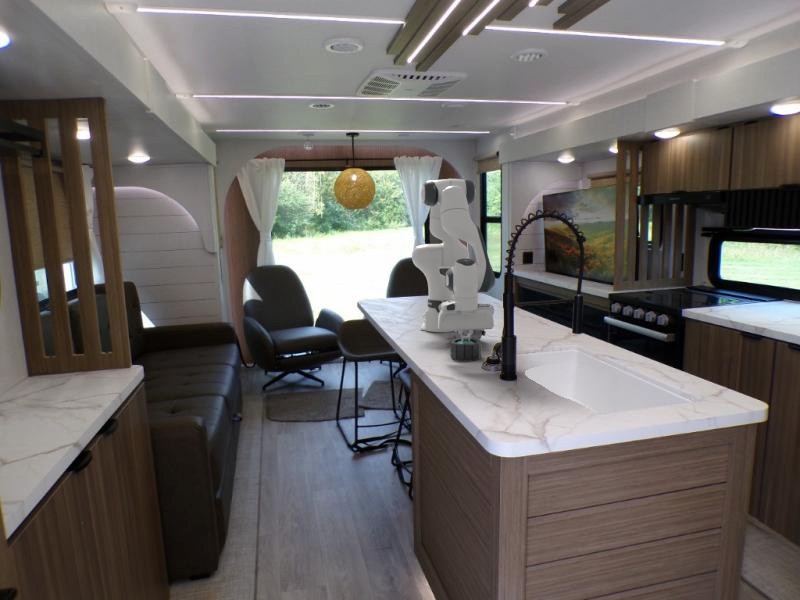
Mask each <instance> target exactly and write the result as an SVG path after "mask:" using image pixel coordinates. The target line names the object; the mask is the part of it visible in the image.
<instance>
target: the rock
mask: <svg viewBox="0 0 800 600" xmlns="http://www.w3.org/2000/svg"><path fill="white" fill-rule="evenodd" d="M452 333H453V337H452V338H453V339H457V338H461V335H460V334H459V332H458V330H453V331H452ZM486 333H487V331H485V329H479V330H473V333H472V335H471V337H470V338H474V339H478V340H480V341H481V339H482V336H483V337H485V336H486ZM468 334H469V331H468V330H463V333H462V335H463V336H468Z"/></svg>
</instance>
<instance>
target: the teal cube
mask: <svg viewBox="0 0 800 600" xmlns="http://www.w3.org/2000/svg"><path fill="white" fill-rule="evenodd" d="M457 343H460V344H472V343H474V342H472V341H470V342H462V341H459V342H457Z"/></svg>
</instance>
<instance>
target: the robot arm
mask: <svg viewBox="0 0 800 600" xmlns="http://www.w3.org/2000/svg"><path fill="white" fill-rule="evenodd" d="M420 193H421V194H420V195H421V199H422V202H423V204H425V205H426V206H428V207H430V211H429V212H430V214H429V218H430V219H429V231H430V234H431V235H432V236H433V237H435V238H437V239H438V240H441V241H442V243H425V244H420V245H417V246H415V247H414V248H413V251H412V254H411V261H412V262H413V265H414V266H415V267H416V268H418V269H419V270H420V271H421V272H422V273H423V275H424V276H425V278H426V281H427V287H428V298H427V309H426V310H425V312H424V313H423V314H422V319H423V323H422V325H421V326H420V330H421V331H427V332H433V333H450V332H453V330H458V332H459V334H460V335H461V341H462V342H470V337H471V335H472V333H473V330H479V329H484V330H492V329H493V328H494V326H495V325H494V324H495V323H494V321H495V320H494V316H493V315H495V307H494V306H493V304H491V303H479V293H488V292H490V291H491V290H492V289H493V287H494V286H495V284H496V276H495V272H494V269H493V267H492V264H491V262H490V259H489V254H488V251H487V247H486V244H485V240H484V237H483V234H482V231H481V229H480V227H479V226H478V225H476V224H475V223H474V221H473V220H472V218H471V216H470V210H469V205H471V204H472V203H473V202H474V201H475V197H476V193H477V191H476V186H475V183H474V182H473V180H471V179H468V178H467V179H466V178H463V179H462V178H446V179H435V180H434V179H430V180H426V181H425V182H423V185H422V188H421V192H420ZM460 240H461V241H463V242H465V243H468V244H469V245H470V246H471V247H472V249H473V252H474V256H475V260H476V261H475V260H473V259H471V258H470V251H469V248H468V247H467V246H466V245H465V244H463V243H462V242H461V241H460ZM440 269H447V270H446V271H445V274H441V271H440ZM463 330H468V331H469V334H468V336H463V335H462V333H463Z"/></svg>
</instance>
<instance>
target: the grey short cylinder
mask: <svg viewBox="0 0 800 600" xmlns="http://www.w3.org/2000/svg"><path fill="white" fill-rule="evenodd" d="M459 341H461V338H457V339H454V338H453V339H451V340H450V341H449V343H450V344H449V345H450V346H449V348H450V349H449V353H450V354H449V355H450V359H452V360H453V361H458V362H474V361H475V362H476V361H479V360H481V358H482V341H481V339H480V340H478V339H474V338H470V341H472V342H474V343H472V344H460V343H457V342H459Z"/></svg>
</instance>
